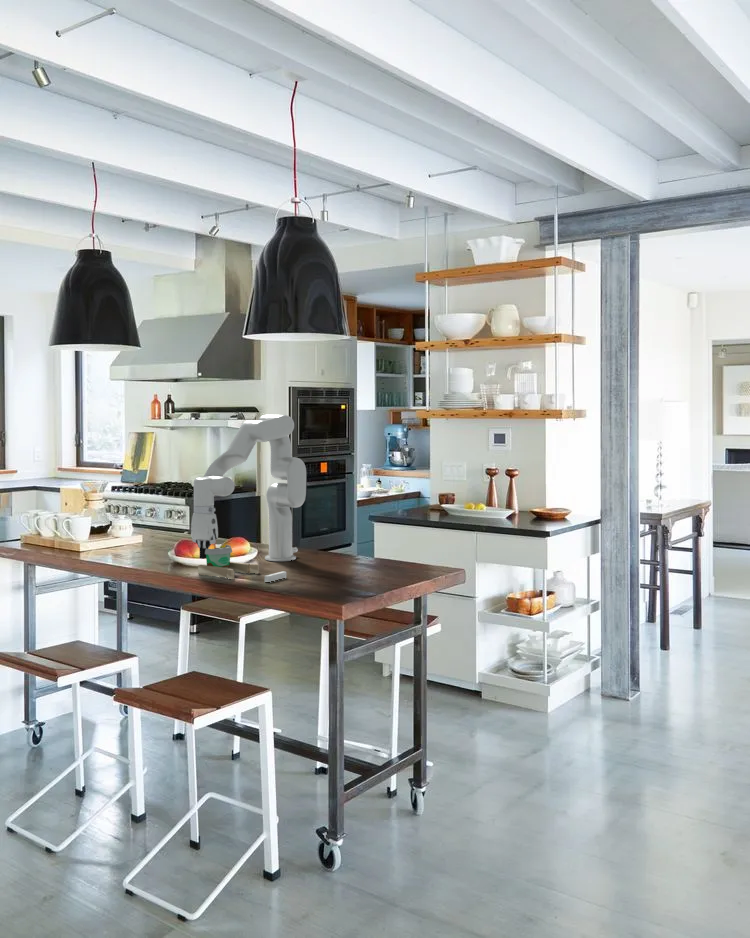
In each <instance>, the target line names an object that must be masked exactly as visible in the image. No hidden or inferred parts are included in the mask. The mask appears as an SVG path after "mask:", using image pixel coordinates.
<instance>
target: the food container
mask: <svg viewBox="0 0 750 938" xmlns="http://www.w3.org/2000/svg"><path fill="white" fill-rule="evenodd" d="M232 549H233V548H232V547H231V545H230V544H225V546H224V547H214V548H208V549H206V550H205V554H206V558H205V560H206V565H207V566H215V567H223V568H229V565H230V562H231V554H232V553H233V550H232Z"/></svg>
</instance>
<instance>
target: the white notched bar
mask: <svg viewBox="0 0 750 938" xmlns="http://www.w3.org/2000/svg"><path fill="white" fill-rule="evenodd" d="M282 578H285V579H287V571H278V572H275V573H270V574H266V575H264V583H265V582H270V583H272V582H271V581H274V582H276V581H275V580H278V579H282ZM282 580H283V579H282ZM278 581H279V580H278Z"/></svg>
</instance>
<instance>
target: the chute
mask: <svg viewBox="0 0 750 938" xmlns="http://www.w3.org/2000/svg"><path fill="white" fill-rule="evenodd" d="M259 567H260V563H248V562H247V563H245V562H237V561H230V565H229V568H223V567H215V566H207V564H206V565H205V564H198V565H197V569H198V570H197V575H198V574H200V575H199V576H205V575H209V576H208V577H212V576H219V577H218V578H220V577H226V578H225V579H227V578H229V579H234V580H235V573H238V572H241V573H240V574H246V573H248V574H250V573H255V574H254V575H258V574H259V573H260V568H259ZM229 579H228V580H229Z"/></svg>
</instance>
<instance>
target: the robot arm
mask: <svg viewBox="0 0 750 938" xmlns="http://www.w3.org/2000/svg"><path fill="white" fill-rule="evenodd" d="M294 429H295V422H294V419H293V418H292V417H291V416H289V415H287V414H270V413H269V414H263V415H261V416H259V417H258V420H257V419H256V420H253V419H251V420H245V421H244V422H242V423H241V424H240V427H239V428H238V430H237V432H236V433H235V435H234V437H233V438H232V440H231V442H230V444H229V446H228V448H227V449H226V451H224V452H223V453H222V454H221V455H219V456H218V457H217V458H216V459H215V460H214V461H212V463H211V464H210V465H209V466H208V468H207V469H206V472H205V473H204V475H203V477H196V478H195V479H194V480H193V513H192V516H191V523H190V536H191V538H192V539H191V540H192V542H193V543H195V544H196V545H197V547H198V548H199V559H203V560H204V559H205V560H206V554H205V550H206V549H210V548H211V545H212V544H213V545H215V544H216V543H217V541H216V540H217V539H218V538H219V527H218V526H219V525H218V518H217V514H216V513H215V512H216V507H215V506H214V505H215V498H214V497H215V496H217V497H218V496H219V497H227V496H230V495H231V494H232V493H233V492H234V491H235V482H234V481H233V479H231V478H230V477H228V476H224V475H225V474H226V473H227V472H228V471H230V470H231V469H233V468H235V467H237V466H239V465H242V464H244V463H245V462H246V461H247V460H248V458H249V456H250V455H251V452H252V451H253V449H254V447H255V445H256V444H257V442H258V443H266V442H269V447H270V475H271V476H272V477H273V479H276V480H281V481H286V482H275V483H273V484H270V486H268V488H267V490H266V502H267V508H268V554H267V555H265V556H264V559H265V560H266V561H269V562H290V561H291V560H292V561H294V560H296V559H297V556H296V555H294V553H297V552H298V549H299V548H298V547H293V514H292V510H291V508H300V507H301V506H303V504H304V503H305V501H306V496H307V468H306V467H307V466H306V465H305V462H304V461H303V460H302V459H301V458H298V457H293V456H292V442H291V439H290V437H289V436H290V434H292V433H293V431H294Z"/></svg>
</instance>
